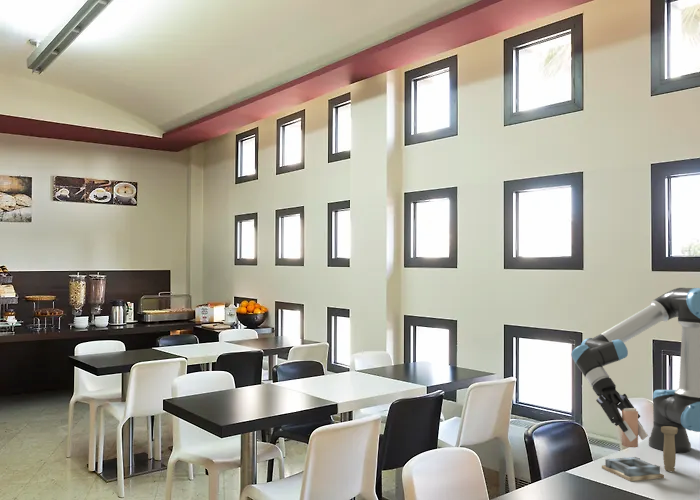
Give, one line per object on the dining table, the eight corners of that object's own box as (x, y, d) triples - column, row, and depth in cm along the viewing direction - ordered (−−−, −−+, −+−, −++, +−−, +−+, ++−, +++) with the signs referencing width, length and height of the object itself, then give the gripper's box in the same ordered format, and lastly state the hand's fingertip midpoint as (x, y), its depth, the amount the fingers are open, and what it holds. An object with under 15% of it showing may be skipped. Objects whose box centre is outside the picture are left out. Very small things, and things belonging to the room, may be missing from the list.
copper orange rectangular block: (630, 442, 216) (630, 406, 217) (641, 447, 211) (641, 409, 212) (618, 443, 215) (618, 407, 215) (628, 447, 210) (629, 410, 210)
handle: (680, 470, 216) (680, 428, 216) (672, 474, 212) (672, 430, 212) (666, 467, 220) (666, 425, 220) (658, 470, 216) (658, 427, 216)
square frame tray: (634, 465, 221) (634, 455, 221) (664, 477, 208) (664, 467, 208) (601, 468, 217) (601, 458, 217) (630, 481, 204) (629, 470, 204)
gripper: (612, 387, 231) (650, 441, 216) (577, 389, 223) (614, 447, 208) (624, 375, 227) (663, 430, 211) (588, 377, 219) (627, 435, 203)
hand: (639, 438), depth 210 cm, fingers closed on copper orange rectangular block, 5 cm apart
